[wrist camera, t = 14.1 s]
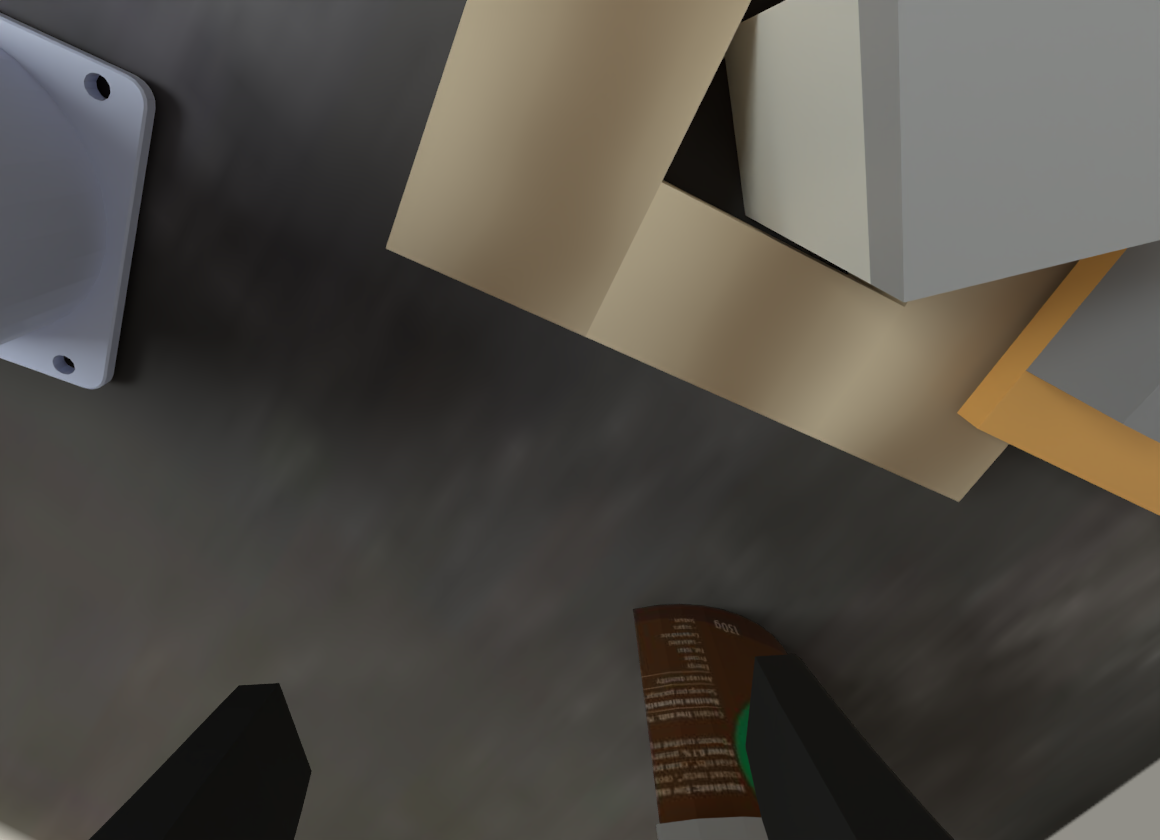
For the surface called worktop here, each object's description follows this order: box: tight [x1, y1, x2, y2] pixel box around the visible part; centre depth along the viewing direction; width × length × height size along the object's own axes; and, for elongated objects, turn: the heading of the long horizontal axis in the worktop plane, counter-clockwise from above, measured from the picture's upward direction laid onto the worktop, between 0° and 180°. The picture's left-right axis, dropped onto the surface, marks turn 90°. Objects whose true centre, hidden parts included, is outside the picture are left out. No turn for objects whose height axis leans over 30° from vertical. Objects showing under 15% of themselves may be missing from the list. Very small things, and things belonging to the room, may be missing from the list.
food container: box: [633, 604, 787, 840], centre depth 18 cm, size 12×6×10 cm, turn 15°
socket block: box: [386, 0, 1079, 502], centre depth 13 cm, size 15×13×3 cm
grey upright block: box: [725, 0, 1160, 302], centre depth 11 cm, size 4×4×8 cm
